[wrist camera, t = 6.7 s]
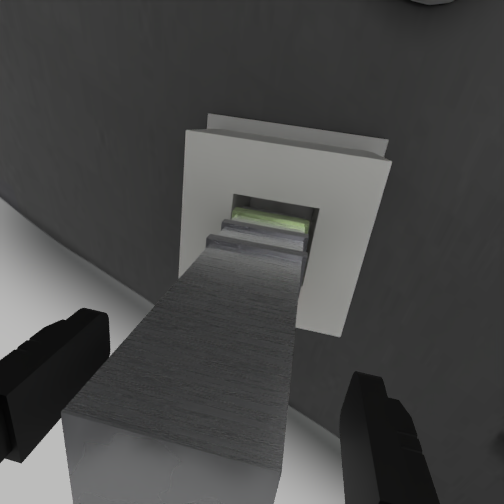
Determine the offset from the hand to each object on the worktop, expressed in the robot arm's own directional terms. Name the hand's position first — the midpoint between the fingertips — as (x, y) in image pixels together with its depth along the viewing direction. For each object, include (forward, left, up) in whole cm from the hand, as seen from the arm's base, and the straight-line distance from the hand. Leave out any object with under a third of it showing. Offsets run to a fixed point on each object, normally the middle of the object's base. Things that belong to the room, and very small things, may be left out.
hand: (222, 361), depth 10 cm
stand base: (0, 0, -19) cm, 19 cm away
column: (0, 0, -12) cm, 12 cm away
